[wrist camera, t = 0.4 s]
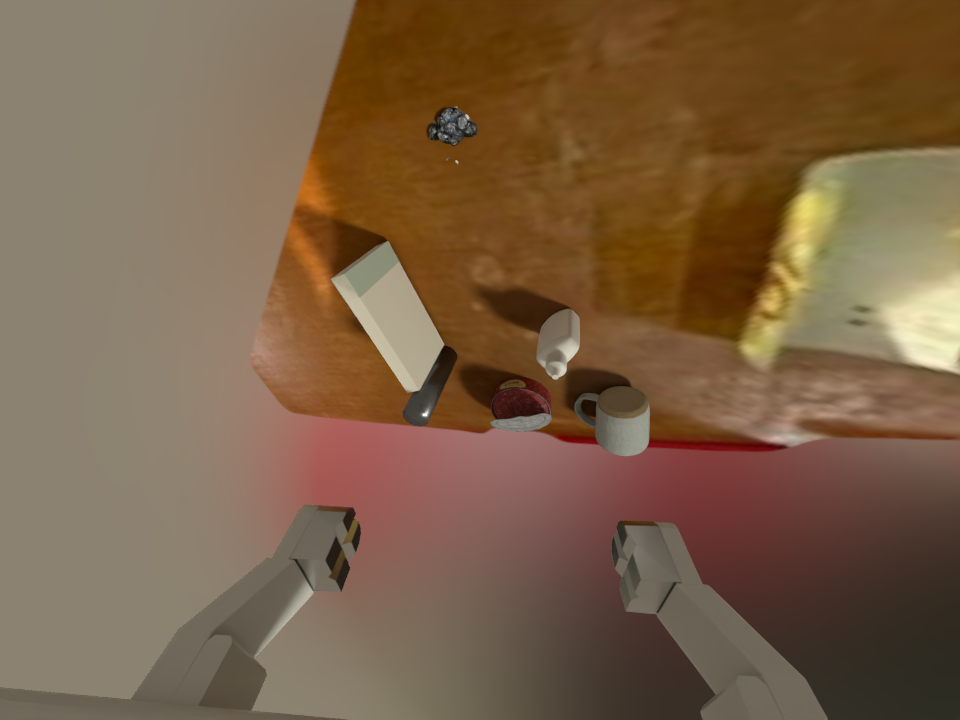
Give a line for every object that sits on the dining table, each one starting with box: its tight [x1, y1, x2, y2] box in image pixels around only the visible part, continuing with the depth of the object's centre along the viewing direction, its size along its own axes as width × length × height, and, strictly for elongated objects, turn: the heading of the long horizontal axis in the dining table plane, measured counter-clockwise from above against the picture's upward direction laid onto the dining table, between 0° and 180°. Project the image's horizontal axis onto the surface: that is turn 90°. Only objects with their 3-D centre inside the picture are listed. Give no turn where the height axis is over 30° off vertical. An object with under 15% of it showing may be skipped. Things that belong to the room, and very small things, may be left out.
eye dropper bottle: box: [536, 309, 580, 379], centre depth 43 cm, size 4×6×12 cm
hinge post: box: [403, 346, 457, 426], centre depth 50 cm, size 4×4×14 cm
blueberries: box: [429, 106, 478, 164], centre depth 37 cm, size 7×8×2 cm
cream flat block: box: [331, 241, 444, 393], centre depth 46 cm, size 17×2×11 cm, turn 24°
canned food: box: [490, 377, 552, 432], centre depth 56 cm, size 11×10×10 cm
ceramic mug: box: [574, 386, 650, 456], centre depth 51 cm, size 11×8×8 cm
